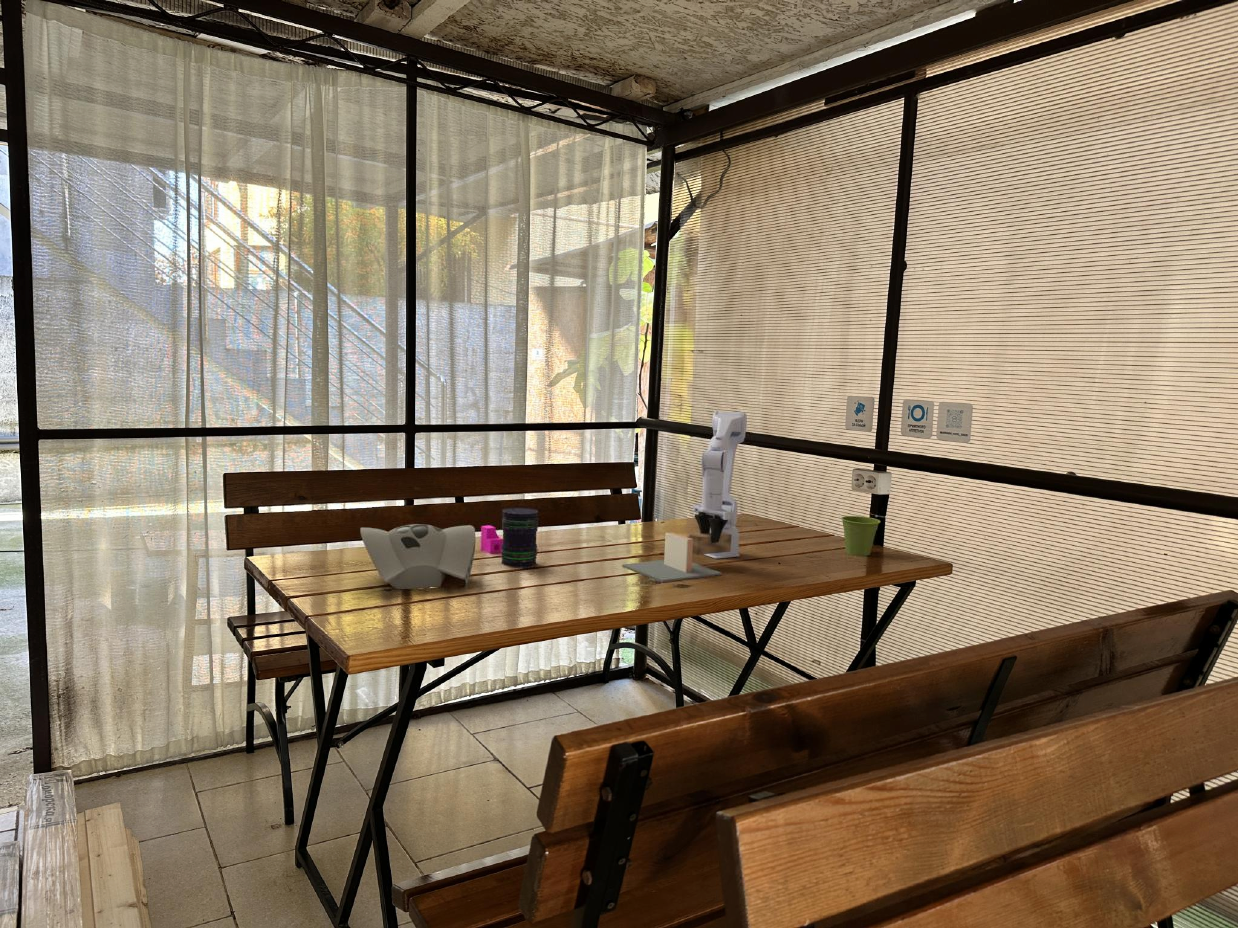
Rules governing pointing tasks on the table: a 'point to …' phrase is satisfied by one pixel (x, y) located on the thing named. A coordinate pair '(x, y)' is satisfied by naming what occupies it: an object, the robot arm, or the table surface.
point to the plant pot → (859, 534)
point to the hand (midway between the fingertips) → (709, 540)
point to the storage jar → (519, 537)
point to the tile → (678, 552)
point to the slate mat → (669, 571)
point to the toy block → (490, 540)
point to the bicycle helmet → (422, 555)
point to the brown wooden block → (710, 543)
